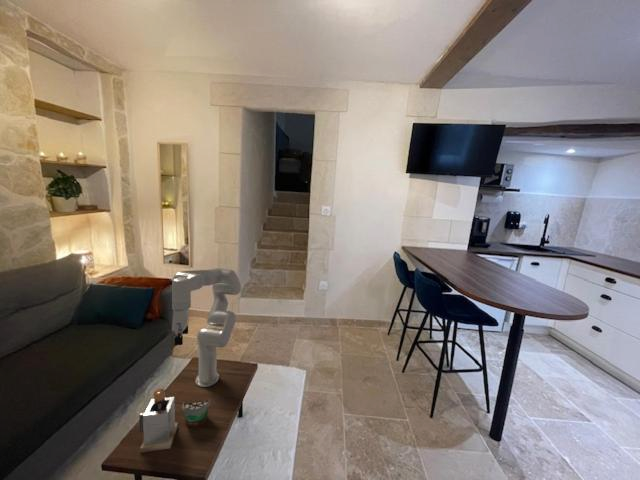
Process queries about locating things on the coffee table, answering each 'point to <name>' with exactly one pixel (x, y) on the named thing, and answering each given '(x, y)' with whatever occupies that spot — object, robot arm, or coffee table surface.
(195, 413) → the food container
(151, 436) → the press sleeve
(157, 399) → the plunger
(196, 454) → the coffee table surface
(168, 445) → the base
